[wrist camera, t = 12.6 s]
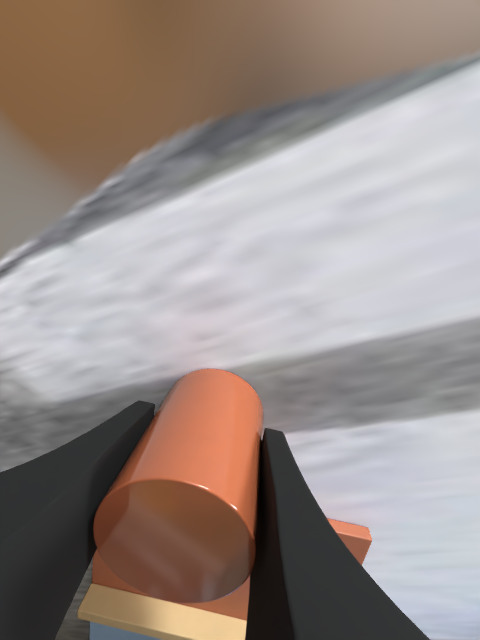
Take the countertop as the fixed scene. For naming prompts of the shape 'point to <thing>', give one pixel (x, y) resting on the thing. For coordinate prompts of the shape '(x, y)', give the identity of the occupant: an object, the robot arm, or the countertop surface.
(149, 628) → the board
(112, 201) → the countertop surface
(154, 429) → the orange cylinder
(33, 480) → the robot arm
